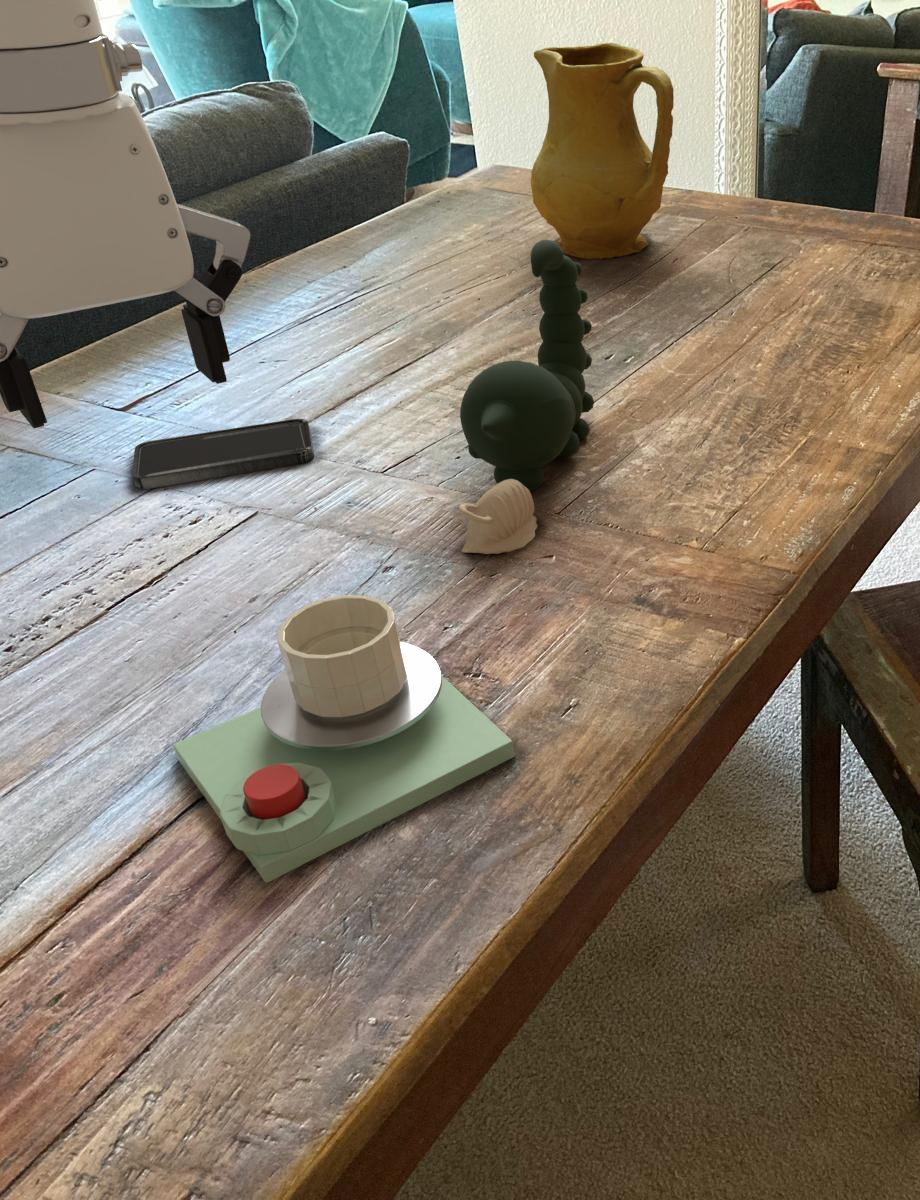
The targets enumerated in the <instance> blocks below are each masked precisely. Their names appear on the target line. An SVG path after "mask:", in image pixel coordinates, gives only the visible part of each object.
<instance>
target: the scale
mask: <svg viewBox="0 0 920 1200" xmlns="http://www.w3.org/2000/svg"><path fill="white" fill-rule="evenodd" d="M172 747H173V750H174V752H175V755H176V757H177V760H178V762H179V763H180V765H181V766H182V767H183V769H184V771H185V772H186V773H187V774H188V776H189V777H190V779H191V780H192V782H193V783H194V784H195V786H196V787H197V789H198V790H199V791H200V793H201V794H202V795H203V797H204V798H205V800H206V801H207V802H208V804H209V805H210V807H211V809H213V811H214V813H215V814H216V816H217V817H218V818H219V819H220V821H221V823H222V825H223V829H224V832H225V834H226V836H227V837H228V839H229V840H230V842H231V843H232V845H233V846H234V847H235V848H236V849H237V850H239V851H242V852H243V853H244V855H245V856H246V857H247V859H248V860H249V861H250V863H251V864H252V866H253V867H254V869H255V870H256V871H257V873H258V874H259V876H260V877H261V878H262V881H264V883H266V884H267V883H270V882H271V881H273V880H276V879H278V878H279V877H281V876H283V875H285V874H287V873H289V872H291V871H293V870H295V869H296V868H299V867H301V866H303V865H305V864H306V863H310V861H313V860H315V859H316V858H318V857H320V856H322V855H324V854H326V853H328V852H330V851H332V850H335V849H336V848H338V847H340V846H342V845H344V844H346V843H349V842H350V841H352V840H354V839H356V838H358V837H359V836H362V835H364V834H366V833H367V832H369V831H371V830H373V829H375V828H377V827H379V826H382V825H384V824H385V823H387V822H390V821H391V820H393V819H396V818H397V817H399V816H401V815H403V814H405V813H407V812H408V811H410V810H411V811H412V809H415V808H417V807H418V806H421V805H423V804H424V803H426V802H428V801H431V800H433V799H434V798H436V797H438V796H440V795H442V794H444V793H446V792H448V791H451V790H452V789H454V788H456V787H458V786H460V785H462V784H464V783H466V782H468V781H469V780H472V779H473V778H476V777H477V776H479V775H481V774H483V773H485V772H487V771H490V770H491V769H493V768H495V767H497V766H499V765H501V764H503V763H505V762H507V761H508V760H511V759H512V758H515V757H516V754H515V753H516V752H515V747H514V742H513V740H512V739H511V738H510V737H509V736H508V735H506V733H504V732H503V731H502V730H501V729H500V728H499V727H498V726H497V725H496V724H495V723H494V722H493V721H491V719H489V717H487V716H486V715H485V714H484V713H483V712H482V711H481V710H480V709H479V708H478V707H476V705H474V704H473V703H472V702H471V701H470V700H469V699H468V698H467V697H466V696H465V695H464V694H462V693H461V692H460V691H459V689H457V688H456V687H454V685H453V684H452V683H450V681H448V680H447V679H446V677H444V676H443V675H442V687H441V691H440V694H439V697H438V699H437V700H436V702H435V704H434V705H433V706H432V707H431V709H430V710H429V711H428V712H427V713H426V714H425V715H424V716H423V717H422V718H421V719H419V720H418V721H417V722H416V723H414V724H413V725H411V726H410V727H408V728H407V729H405V730H403V731H401V732H400V733H398V734H396V735H394V736H391V737H389V738H387V739H384V740H382V741H379V742H376V743H373V744H370V745H366V746H362V747H358V748H352V749H346V750H336V751H317V750H307V749H302V748H297V747H294V746H291V745H288V744H286V743H284V742H282V741H280V740H279V739H277V738H276V737H274V736H273V735H272V734H271V733H270V732H269V731H268V729H267V728H266V726H265V724H264V722H263V719H262V716H261V706H260V707H258V708H255V709H253V710H251V711H247V712H246V713H244V714H241V715H239V716H236V717H233V718H232V719H229V720H227V721H225V722H223V723H219V724H218V725H216V726H213V727H210V728H208V729H206V730H203V731H202V732H199V733H197V734H194V735H191V736H189V737H187V738H185V739H183V740H180V741H178V742H175V743H173V744H172ZM272 765H288V766H291V767H293V768H295V769H296V770H297V771H298V773H299V776H300V779H301V783H302V786H303V789H304V792H305V797H304V801H303V803H302V804H301V805H300V807H299V808H298V809H296V810H295V811H293V812H291V813H289V814H286V815H284V816H282V817H280V818H273V819H260V818H257V817H255V816H254V815H253V814H252V813H251V812H250V809H249V806H248V804H247V801H246V798H245V795H244V792H243V786H244V783H245V781H246V780H247V779H248V778H249V777H250V776H251V775H252V774H253V773H255V772H256V771H258V770H260V769H262V768H265V767H268V766H272Z"/></svg>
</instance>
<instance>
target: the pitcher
mask: <svg viewBox="0 0 920 1200" xmlns="http://www.w3.org/2000/svg"><path fill="white" fill-rule="evenodd" d="M533 58H534V59H535V60H536V62H537V63H538V65H539V66H540V68H541V70H542V73H543V77H544V80H545V82H546V83H545V84H546V91H547V96H548V97H547V99H548V123H547V127H546V128H547V129H546V133H545V136H544V139H543V141H542V145H541V148H540V150H539V153H538V155H537V156H536V159H535V161H534V163H533V166H532V169H531V176H530V187H531V188H530V189H531V192H532V203H533V204H534V206H535V207H536V210H537V211H538V213H539V215H540V216H541V217H542V218H543V219H544V220H545V222H546V223H547V224H548V225H549V226H552V227H553V229H555V231H556V233H557V234H558V236H559V237H560V239H559V240H558V241H556V243H557V244H558V245H559V246H560V247H561V248H562V250H563V254H564V255H566V256H567V255H568V256H569V257H570V256H571V257H573V258H574V257H575V258H579V259H587V260H593V259H594V260H596V259H597V260H602V259H614V257H615V258H619V257H622V256H624V257H625V256H628V255H632V254H634V253H635V254H636V253H640V252H641V251H642V250H643V249H645V248H647V247H648V246H649V244H648V240H647V239H646V238H645V236H642V235H641V232H642V230H643V229H644V228H645V227H646V226H647V224H649V222H650V221H651V220H652V217H653V215H654V214H655V213H656V212H657V211H659V209H661V206H662V197H663V190H664V184H665V182H666V179H667V176H668V174H669V158H670V153H671V147H670V145H671V139H672V137H673V127H674V125H673V124H674V116H673V115H672V111H673V110H674V103H675V102H674V98H675V97H674V87H673V83H672V80H671V77H670V75H668V73H667V72H666V71H664V70H663V69H661V68H659V67H658V66H647V65H646V66H645V65H643V63H642V62H643V61H644V53H643V52H642V50H640V49H638V48H634V47H629V46H626V45H622V44H619V43H614V42H603V43H602V42H601V43H596V44H594V45H583V46H582V45H581V46H580V45H578V46H562V47H560V46H559V47H558V46H552V47H544V48H542V49H538V50H535V51H533ZM642 83H644V84H647V85H649V86H651V88H652V89H653V90H654V92H655V97H656V98H655V102H656V108H657V117H656V128H655V133H654V142H653V147H652V151H651V149H650V147H649V146H648V144H647V143H646V142H645V140H644V139H643V137H642V135H641V132H640V128H639V125H638V122H637V117H636V114H635V108H634V102H635V101H634V100H635V94H636V92H637V91H638V89H639V87H640V86H641V84H642Z"/></svg>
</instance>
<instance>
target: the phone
mask: <svg viewBox="0 0 920 1200" xmlns="http://www.w3.org/2000/svg"><path fill="white" fill-rule="evenodd" d="M312 439H313V438H312V433H311V429H310V424H309V421H308V420H307V419H305V418H293V419H286V420H279V421H272V422H266V423H259V424H253V425H246V426H239V427H233V428H226V429H220V430H212V431H207V432H200V433H193V434H186V435H181V436H173V437H166V438H161V439H154V440H148V441H144V442H141V443H139V444H137V445H136V446H135V447H134V452H133V459H132V467H131V468H132V469H131V476H132V479H133V482H134V485H135V487H136V489H139V490H150V489H156V488H162V487H169V486H174V485H181V484H187V483H193V482H199V481H206V480H211V479H217V478H224V477H229V476H230V477H231V476H234V475H243V474H247V473H248V474H249V473H254V472H259V471H260V472H261V471H266V470H273V469H278V468H279V469H280V468H285V467H292V466H296V465H302V464H307V463H309V462H311V461H313V460H314V459H315V453H314V446H313V440H312Z"/></svg>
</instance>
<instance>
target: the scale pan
mask: <svg viewBox="0 0 920 1200" xmlns="http://www.w3.org/2000/svg"><path fill="white" fill-rule="evenodd" d="M400 643H401V647H402V651H403V656H404V660H405V665H406V671H407V679H406V681H405V683H404V685H403V687H402V689H401V691H400V692H399V693H398V694H397V695H395V696H394V697H393V698H392V699H390V700H389V701H388V702H387V703H385V704H383V705H381V706H379V707H377V708H375V709H373V710H371V711H369V712H366V713H363V714H359V715H355V716H349V717H321V716H318V715H315V714H312V713H310V712H307V711H305V710H303V709H302V708H301V706H300V705H299V704H298V703H297V702H296V701H295V699H294V696H293V692H292V689H291V686H290V682H289V679H288V675H287V672H286V669H284V670H283V671H282V672H280V673H279V674H278V675H277V676H276V677H275V678H274V679H273V680H272V682H270V684H269V685H268V687H267V688H266V690H265V692H264V694H263V697H262V699H261V703H260V707H261V716H262V719H263V722H264V724H265V726H266V728H267V729H268V731H269V732H270V733H271V734H272V735H273V736H274V737H276V738H277V739H279V740H280V741H282V742H284V743H286V744H288V745H291V746H294V747H297V748H302V749H307V750H317V751H336V750H346V749H352V748H358V747H362V746H366V745H370V744H373V743H376V742H379V741H382V740H384V739H387V738H389V737H391V736H394V735H396V734H398V733H400V732H401V731H403V730H405V729H407V728H408V727H410V726H411V725H413V724H414V723H416V722H417V721H418V720H419V719H421V718H422V717H423V716H424V715H425V714H426V713H427V712H428V711H429V710H430V709H431V707H432V706H433V705H434V704H435V702H436V700H437V699H438V697H439V694H440V691H441V687H442V676H443V675H442V671H441V668H440V666H439V663H438V662H437V660H436V659H435V658H434V657H433V656H432V655H431V654H430V653H428V651H426V650H425V649H422V648H421V647H419V646H416V645H413V644H411V643H408V642H404V641H400Z"/></svg>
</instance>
